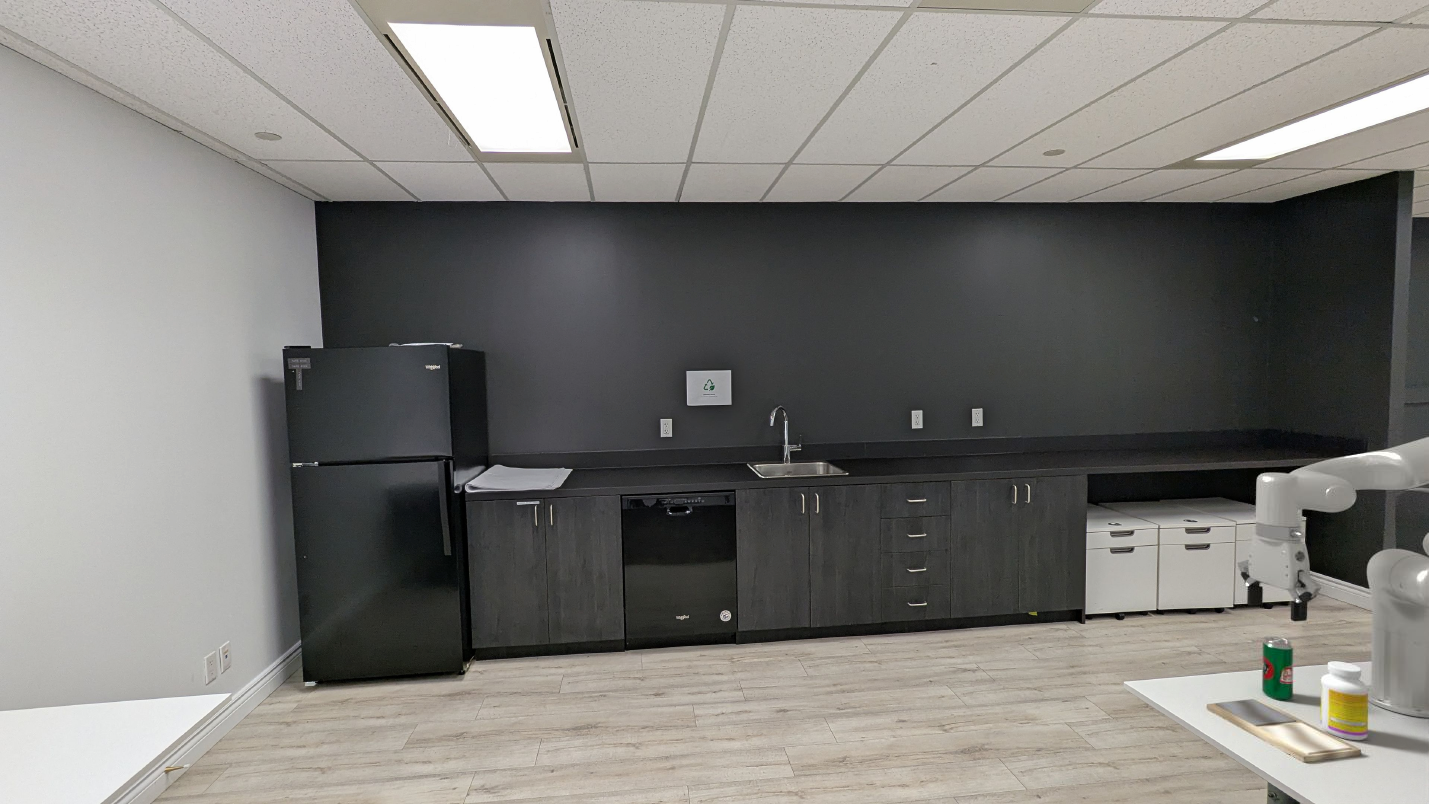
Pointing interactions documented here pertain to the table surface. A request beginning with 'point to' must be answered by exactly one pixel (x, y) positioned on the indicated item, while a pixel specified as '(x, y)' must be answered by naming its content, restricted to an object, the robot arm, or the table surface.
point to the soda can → (1277, 668)
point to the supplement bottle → (1344, 702)
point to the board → (1283, 730)
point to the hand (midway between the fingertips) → (1276, 612)
